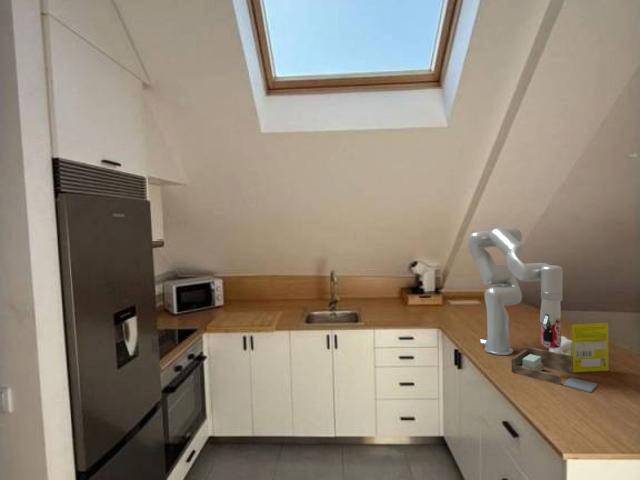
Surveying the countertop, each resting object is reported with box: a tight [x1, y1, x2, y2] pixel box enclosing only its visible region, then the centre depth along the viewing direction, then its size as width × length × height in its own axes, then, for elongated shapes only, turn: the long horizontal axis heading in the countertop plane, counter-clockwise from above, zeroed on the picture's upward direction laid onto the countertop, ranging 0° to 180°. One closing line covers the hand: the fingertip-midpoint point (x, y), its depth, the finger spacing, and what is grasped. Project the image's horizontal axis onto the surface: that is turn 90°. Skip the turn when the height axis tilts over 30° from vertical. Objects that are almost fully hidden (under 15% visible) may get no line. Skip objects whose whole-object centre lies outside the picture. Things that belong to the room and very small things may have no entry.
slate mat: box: [562, 376, 598, 394], centre depth 145 cm, size 9×9×1 cm
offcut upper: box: [522, 354, 541, 369], centre depth 161 cm, size 4×8×3 cm, turn 131°
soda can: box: [540, 319, 562, 349], centre depth 155 cm, size 7×7×12 cm
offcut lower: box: [522, 363, 544, 371], centre depth 161 cm, size 5×9×3 cm, turn 132°
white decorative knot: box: [548, 335, 572, 356], centre depth 174 cm, size 11×12×9 cm
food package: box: [571, 322, 609, 373], centre depth 157 cm, size 15×1×20 cm, turn 92°
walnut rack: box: [511, 346, 574, 385], centre depth 159 cm, size 18×16×7 cm
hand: (551, 338), depth 156 cm, fingers closed on soda can, 6 cm apart
